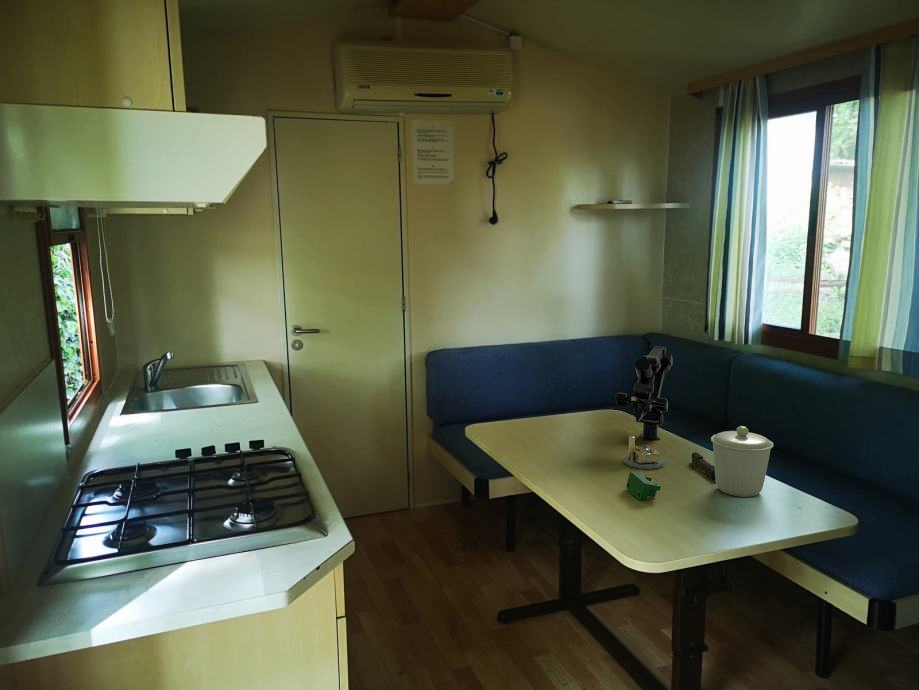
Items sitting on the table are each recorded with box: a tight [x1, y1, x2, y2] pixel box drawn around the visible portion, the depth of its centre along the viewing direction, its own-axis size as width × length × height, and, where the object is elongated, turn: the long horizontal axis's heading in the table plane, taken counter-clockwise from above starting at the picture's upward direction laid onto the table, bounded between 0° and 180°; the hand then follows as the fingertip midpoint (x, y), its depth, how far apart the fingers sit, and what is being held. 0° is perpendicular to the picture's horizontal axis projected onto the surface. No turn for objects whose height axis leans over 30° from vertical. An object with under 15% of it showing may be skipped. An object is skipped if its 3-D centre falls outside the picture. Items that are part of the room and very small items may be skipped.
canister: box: [710, 425, 774, 498], centre depth 219 cm, size 18×18×21 cm
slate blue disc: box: [623, 446, 666, 470], centre depth 247 cm, size 14×14×6 cm
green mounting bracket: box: [626, 470, 662, 501], centre depth 218 cm, size 12×6×9 cm, turn 3°
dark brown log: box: [690, 451, 716, 482], centre depth 239 cm, size 19×4×5 cm, turn 4°
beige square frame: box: [627, 435, 661, 463], centre depth 247 cm, size 8×10×8 cm
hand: (637, 421), depth 255 cm, fingers closed
